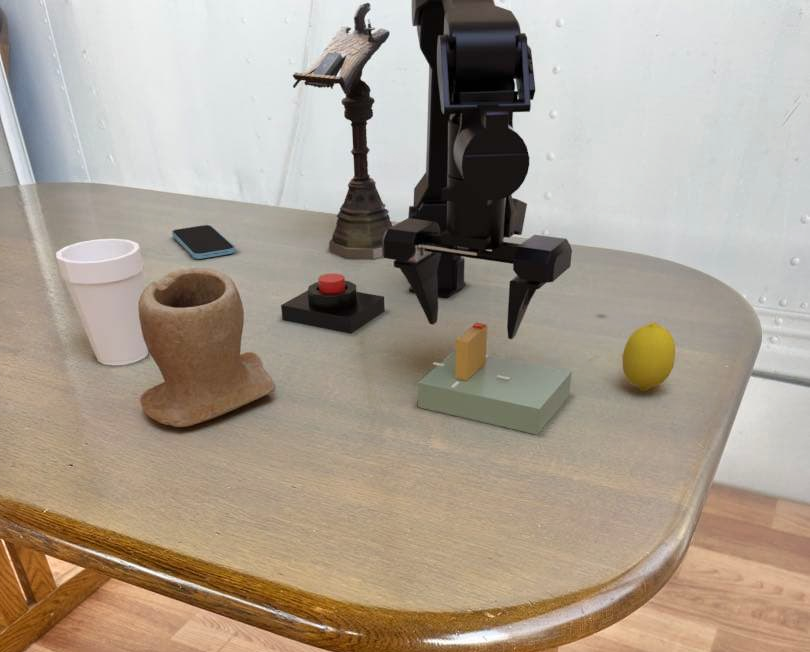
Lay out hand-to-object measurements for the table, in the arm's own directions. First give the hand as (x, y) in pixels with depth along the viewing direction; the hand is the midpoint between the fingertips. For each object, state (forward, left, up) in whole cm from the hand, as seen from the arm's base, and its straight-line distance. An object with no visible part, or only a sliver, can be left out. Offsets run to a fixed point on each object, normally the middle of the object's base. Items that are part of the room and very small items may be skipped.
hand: (471, 330), depth 87 cm
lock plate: (+3, 0, -8) cm, 8 cm away
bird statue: (-39, +40, -8) cm, 57 cm away
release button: (-27, +14, -4) cm, 31 cm away
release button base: (-27, +14, -8) cm, 31 cm away
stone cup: (-24, -15, -8) cm, 29 cm away
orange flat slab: (0, 0, -5) cm, 5 cm away
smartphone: (-65, +32, -8) cm, 73 cm away
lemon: (+17, +10, -8) cm, 21 cm away
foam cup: (-44, -9, -8) cm, 46 cm away
